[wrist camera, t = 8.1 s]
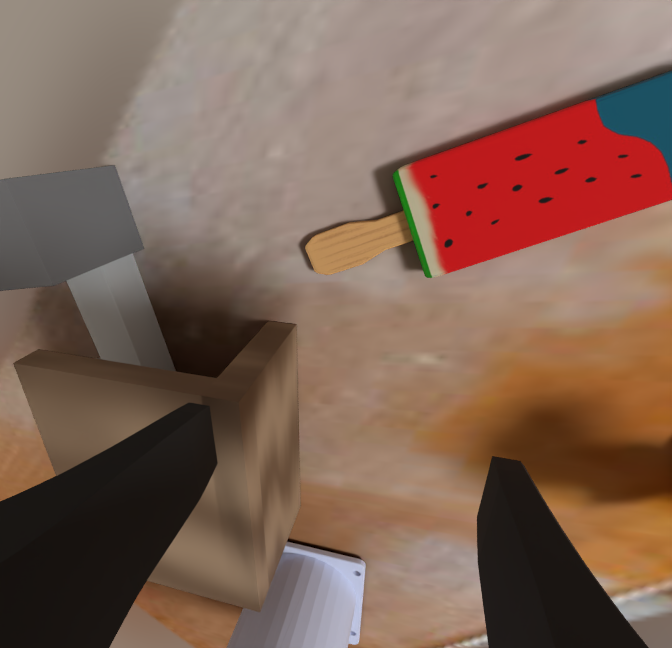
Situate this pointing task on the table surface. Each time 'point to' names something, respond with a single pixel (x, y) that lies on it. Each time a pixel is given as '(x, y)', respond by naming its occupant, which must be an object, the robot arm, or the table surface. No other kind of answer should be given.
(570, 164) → the popsicle
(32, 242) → the hammer
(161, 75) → the table surface
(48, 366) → the wooden corner piece
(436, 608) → the table surface
